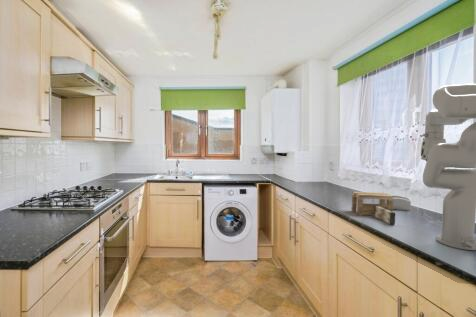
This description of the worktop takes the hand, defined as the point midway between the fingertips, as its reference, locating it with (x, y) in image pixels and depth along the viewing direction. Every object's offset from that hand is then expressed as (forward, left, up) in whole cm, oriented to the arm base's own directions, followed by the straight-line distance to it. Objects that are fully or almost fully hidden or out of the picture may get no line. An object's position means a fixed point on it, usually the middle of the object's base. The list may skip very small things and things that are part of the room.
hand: (432, 170), depth 120 cm
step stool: (+10, +25, -27) cm, 38 cm away
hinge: (+25, +4, -28) cm, 37 cm away
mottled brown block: (-2, +24, -27) cm, 36 cm away
